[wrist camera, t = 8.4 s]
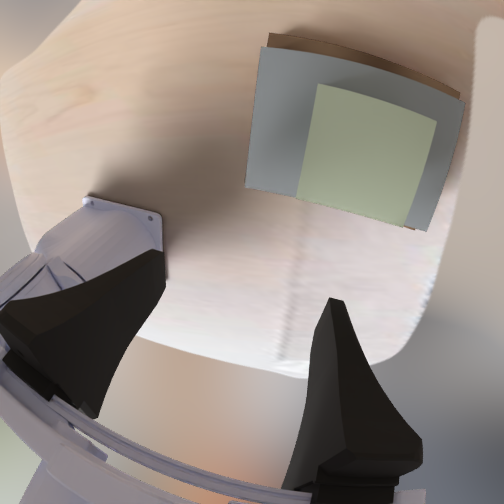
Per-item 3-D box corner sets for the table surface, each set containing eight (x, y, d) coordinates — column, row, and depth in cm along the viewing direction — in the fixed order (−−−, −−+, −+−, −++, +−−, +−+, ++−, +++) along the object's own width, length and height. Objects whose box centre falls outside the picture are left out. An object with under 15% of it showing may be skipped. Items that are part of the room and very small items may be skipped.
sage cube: (304, 167, 14) (295, 198, 11) (319, 86, 12) (317, 83, 8) (384, 189, 14) (402, 227, 10) (405, 111, 11) (437, 121, 8)
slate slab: (254, 174, 18) (244, 187, 16) (270, 52, 13) (261, 46, 11) (415, 214, 16) (426, 231, 14) (447, 100, 12) (465, 102, 10)
